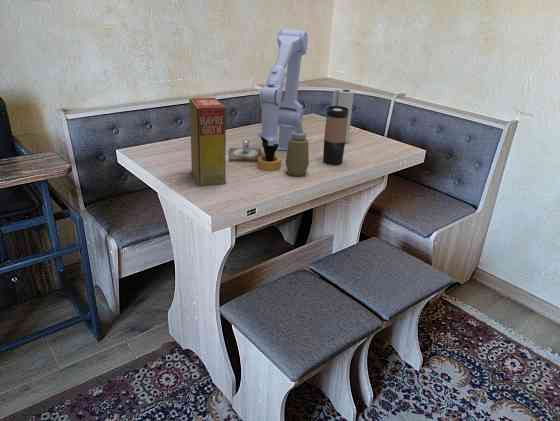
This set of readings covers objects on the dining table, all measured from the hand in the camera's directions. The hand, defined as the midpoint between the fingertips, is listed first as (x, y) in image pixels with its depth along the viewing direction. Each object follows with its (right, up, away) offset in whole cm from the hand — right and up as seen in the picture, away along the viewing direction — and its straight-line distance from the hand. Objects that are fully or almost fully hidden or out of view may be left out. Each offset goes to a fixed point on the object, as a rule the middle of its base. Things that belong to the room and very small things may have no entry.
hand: (268, 158), depth 165 cm
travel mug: (+24, -1, +5) cm, 24 cm away
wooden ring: (0, -3, -2) cm, 4 cm away
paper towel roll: (+29, +10, +27) cm, 41 cm away
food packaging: (-20, -8, -13) cm, 25 cm away
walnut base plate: (-9, +2, +7) cm, 11 cm away
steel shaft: (-9, +2, +7) cm, 11 cm away
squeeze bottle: (+10, -6, -6) cm, 13 cm away
